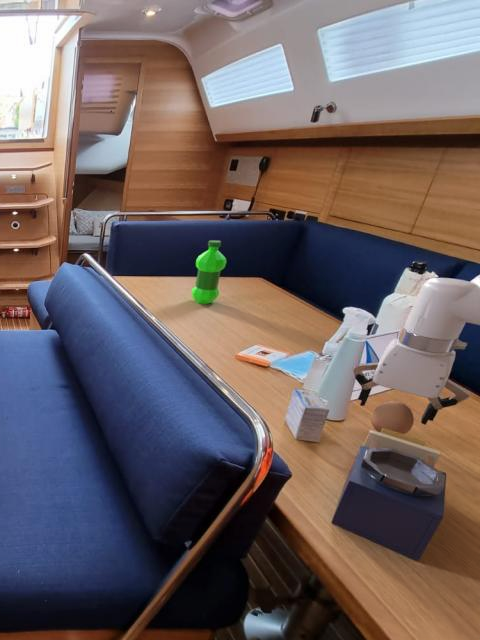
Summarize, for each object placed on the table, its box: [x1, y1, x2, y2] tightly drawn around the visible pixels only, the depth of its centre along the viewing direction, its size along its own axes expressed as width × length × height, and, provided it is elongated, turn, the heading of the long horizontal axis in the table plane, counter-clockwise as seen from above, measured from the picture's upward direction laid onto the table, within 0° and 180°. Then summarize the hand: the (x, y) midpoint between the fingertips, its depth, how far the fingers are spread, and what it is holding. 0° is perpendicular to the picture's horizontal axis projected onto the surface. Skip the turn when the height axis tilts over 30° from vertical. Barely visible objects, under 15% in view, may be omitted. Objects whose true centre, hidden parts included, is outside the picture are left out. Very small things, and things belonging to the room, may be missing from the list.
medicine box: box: [284, 389, 330, 443], centre depth 93 cm, size 8×4×9 cm, turn 160°
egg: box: [370, 400, 415, 435], centre depth 90 cm, size 6×6×8 cm
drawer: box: [363, 428, 442, 468], centre depth 77 cm, size 17×9×8 cm, turn 133°
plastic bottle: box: [191, 239, 228, 305], centre depth 167 cm, size 10×10×25 cm
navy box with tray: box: [330, 444, 447, 562], centre depth 70 cm, size 13×11×10 cm
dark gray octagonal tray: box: [361, 448, 445, 498], centre depth 68 cm, size 9×9×2 cm
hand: (392, 412), depth 90 cm, fingers open, 9 cm apart
